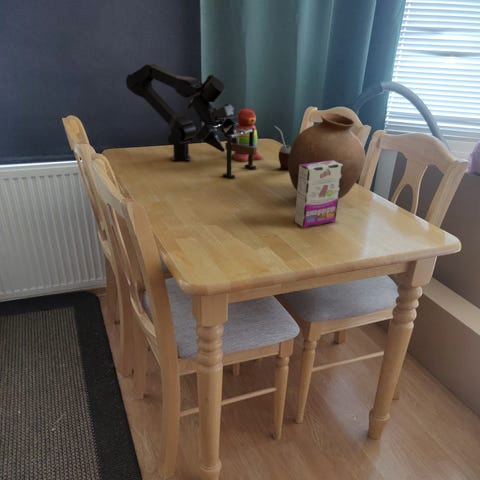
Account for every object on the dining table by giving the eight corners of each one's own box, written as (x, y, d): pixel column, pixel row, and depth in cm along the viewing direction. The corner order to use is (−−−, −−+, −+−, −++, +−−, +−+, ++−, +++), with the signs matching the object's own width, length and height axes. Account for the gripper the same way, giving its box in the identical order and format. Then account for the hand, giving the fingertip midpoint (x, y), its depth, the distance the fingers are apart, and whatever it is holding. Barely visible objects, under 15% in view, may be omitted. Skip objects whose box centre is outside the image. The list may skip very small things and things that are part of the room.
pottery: (283, 185, 163) (290, 105, 149) (351, 188, 162) (364, 108, 148) (286, 209, 144) (294, 121, 130) (363, 212, 144) (380, 124, 130)
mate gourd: (300, 170, 178) (304, 127, 169) (283, 173, 174) (287, 129, 165) (287, 165, 183) (291, 123, 174) (271, 168, 179) (274, 125, 170)
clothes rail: (222, 176, 168) (223, 134, 160) (246, 166, 179) (248, 127, 171) (232, 179, 166) (233, 136, 158) (255, 168, 177) (257, 128, 169)
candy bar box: (325, 216, 140) (333, 159, 131) (335, 222, 136) (344, 164, 127) (292, 222, 136) (298, 163, 127) (302, 228, 132) (309, 168, 123)
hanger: (225, 149, 171) (225, 127, 166) (228, 148, 172) (228, 126, 168) (253, 155, 165) (254, 132, 161) (256, 154, 167) (257, 131, 162)
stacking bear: (239, 162, 184) (241, 112, 174) (227, 155, 191) (228, 107, 181) (263, 159, 188) (266, 110, 178) (250, 152, 196) (252, 105, 186)
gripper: (202, 99, 157) (230, 139, 158) (234, 92, 170) (259, 129, 171) (184, 121, 164) (210, 159, 166) (216, 113, 178) (240, 148, 179)
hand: (231, 148), depth 170 cm, fingers open, 9 cm apart
